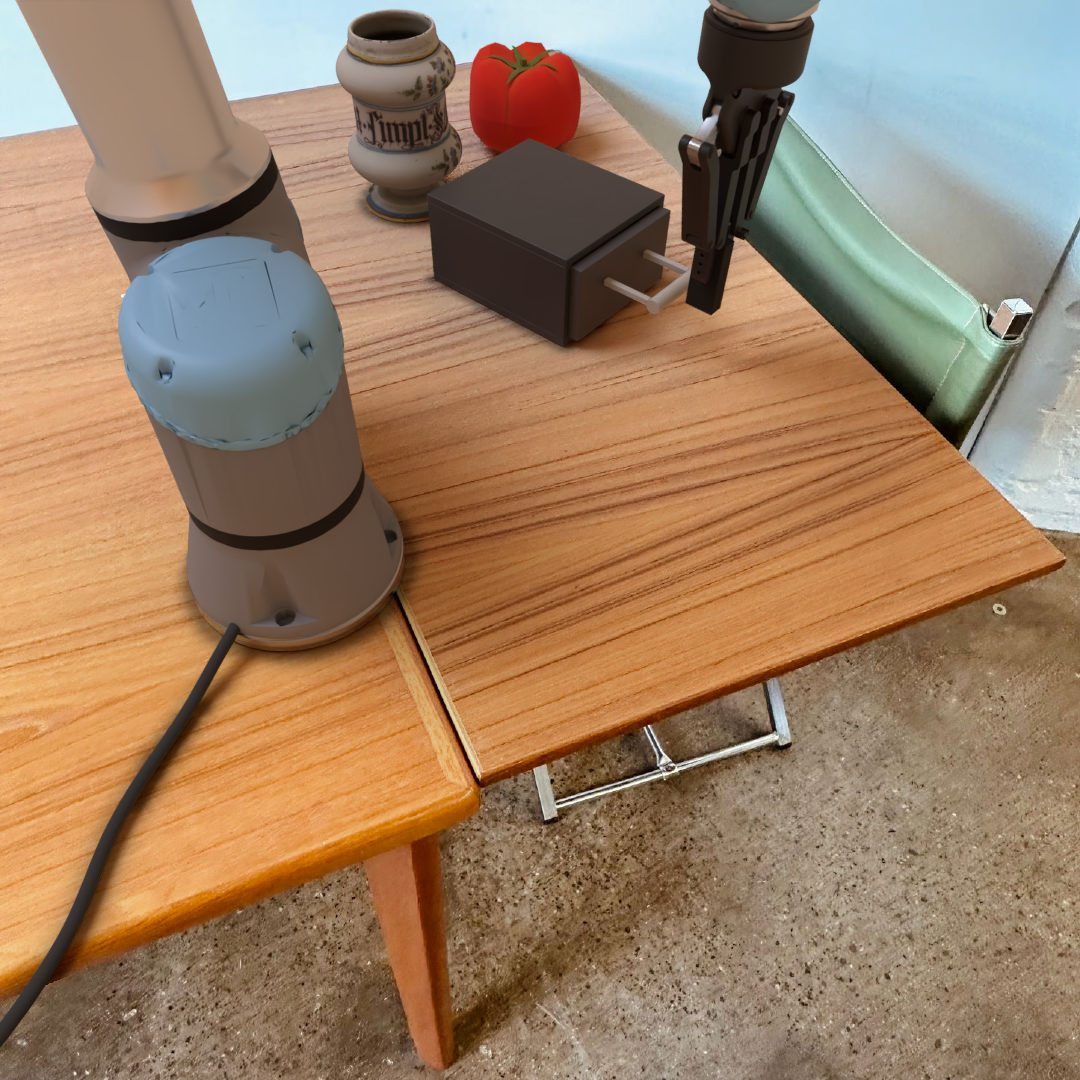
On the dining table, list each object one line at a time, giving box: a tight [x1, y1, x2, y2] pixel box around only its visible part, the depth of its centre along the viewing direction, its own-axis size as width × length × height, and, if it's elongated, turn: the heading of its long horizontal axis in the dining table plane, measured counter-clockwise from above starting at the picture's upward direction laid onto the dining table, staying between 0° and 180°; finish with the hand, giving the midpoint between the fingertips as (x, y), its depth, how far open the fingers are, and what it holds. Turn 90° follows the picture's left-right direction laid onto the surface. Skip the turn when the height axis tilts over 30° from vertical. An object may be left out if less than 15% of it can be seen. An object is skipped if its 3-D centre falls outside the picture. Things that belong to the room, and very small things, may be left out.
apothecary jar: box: [335, 8, 463, 224], centre depth 94 cm, size 12×12×18 cm
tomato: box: [468, 41, 582, 153], centre depth 105 cm, size 14×13×10 cm
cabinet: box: [427, 138, 666, 348], centre depth 88 cm, size 17×15×9 cm
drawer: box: [568, 206, 691, 342], centre depth 86 cm, size 22×13×7 cm, turn 50°
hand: (702, 305), depth 79 cm, fingers closed
